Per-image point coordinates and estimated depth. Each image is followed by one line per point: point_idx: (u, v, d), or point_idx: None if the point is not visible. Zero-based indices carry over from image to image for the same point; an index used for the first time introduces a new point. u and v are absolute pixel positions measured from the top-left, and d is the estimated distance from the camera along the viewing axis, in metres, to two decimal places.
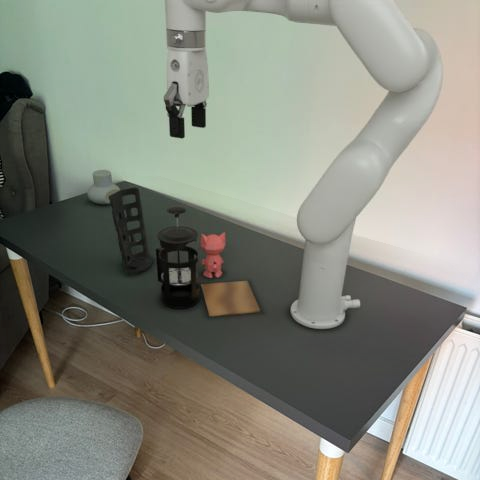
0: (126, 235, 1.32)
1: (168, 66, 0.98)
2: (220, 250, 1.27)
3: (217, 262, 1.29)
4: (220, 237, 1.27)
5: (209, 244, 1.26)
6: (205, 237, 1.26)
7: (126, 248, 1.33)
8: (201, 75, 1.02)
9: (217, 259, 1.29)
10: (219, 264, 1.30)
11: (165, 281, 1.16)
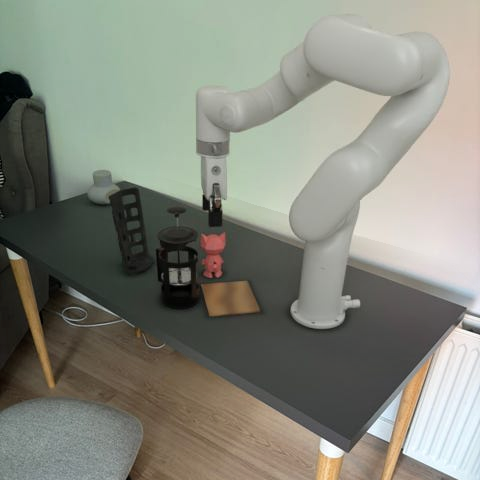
0: (126, 235, 1.32)
1: (209, 171, 1.13)
2: (220, 250, 1.27)
3: (217, 262, 1.29)
4: (220, 237, 1.27)
5: (209, 244, 1.26)
6: (205, 237, 1.26)
7: (126, 248, 1.33)
8: None
9: (217, 259, 1.29)
10: (219, 264, 1.30)
11: (165, 281, 1.16)
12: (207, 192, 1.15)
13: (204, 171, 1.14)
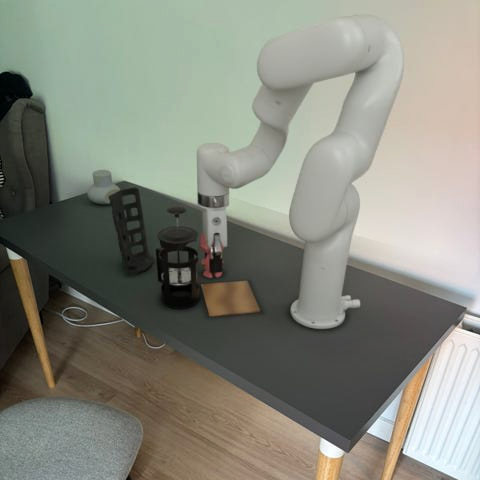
0: (126, 235, 1.32)
1: (210, 222, 1.19)
2: None
3: None
4: None
5: None
6: None
7: (126, 248, 1.33)
8: None
9: None
10: None
11: (165, 281, 1.16)
12: (208, 241, 1.22)
13: (205, 222, 1.21)
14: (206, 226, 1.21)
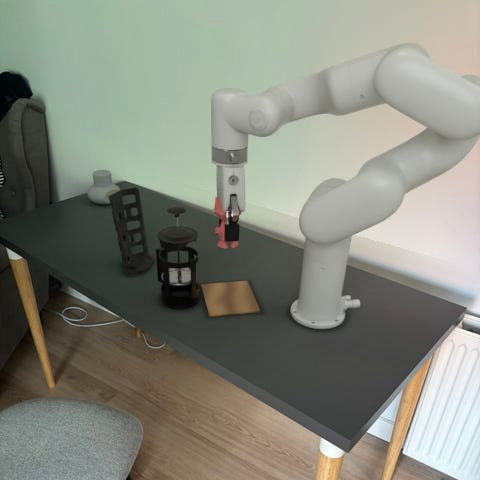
0: (126, 235, 1.32)
1: (226, 181, 1.04)
2: None
3: None
4: None
5: None
6: None
7: (126, 248, 1.33)
8: None
9: None
10: None
11: (165, 281, 1.16)
12: (224, 204, 1.06)
13: (220, 181, 1.05)
14: (221, 186, 1.05)
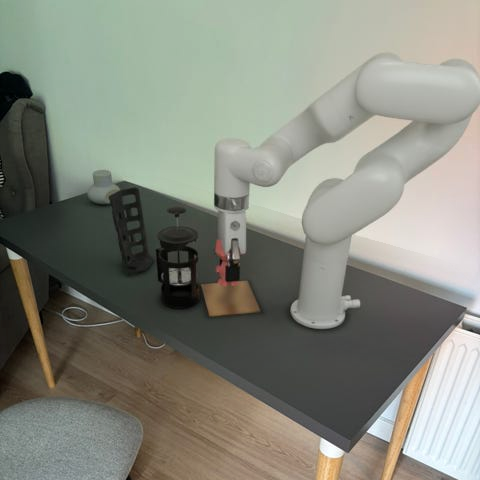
0: (126, 235, 1.32)
1: (227, 227, 1.08)
2: None
3: None
4: None
5: None
6: None
7: (126, 248, 1.33)
8: None
9: None
10: None
11: (165, 281, 1.16)
12: (225, 247, 1.10)
13: (222, 226, 1.09)
14: (223, 231, 1.09)
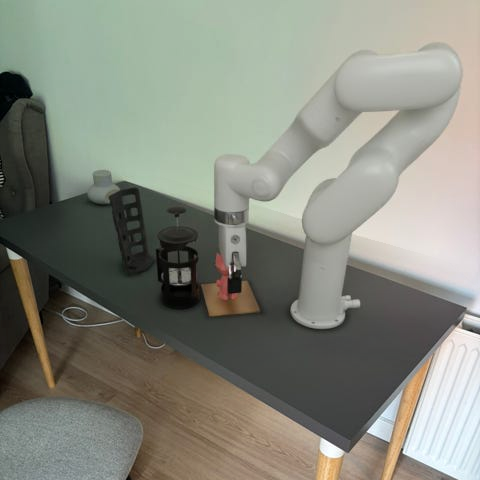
0: (126, 235, 1.32)
1: (228, 241, 1.10)
2: None
3: None
4: None
5: (224, 265, 1.16)
6: (221, 257, 1.17)
7: (126, 248, 1.33)
8: None
9: None
10: None
11: (165, 281, 1.16)
12: (226, 260, 1.12)
13: (223, 239, 1.11)
14: (224, 244, 1.11)
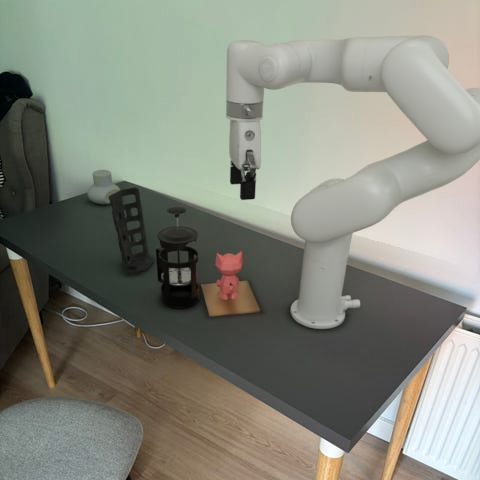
0: (126, 235, 1.32)
1: (242, 137, 1.02)
2: (237, 270, 1.18)
3: (233, 283, 1.20)
4: (237, 256, 1.17)
5: (224, 265, 1.16)
6: (221, 257, 1.17)
7: (126, 248, 1.33)
8: None
9: (233, 280, 1.20)
10: (235, 285, 1.20)
11: (165, 281, 1.16)
12: (239, 160, 1.05)
13: (236, 137, 1.04)
14: (237, 142, 1.04)
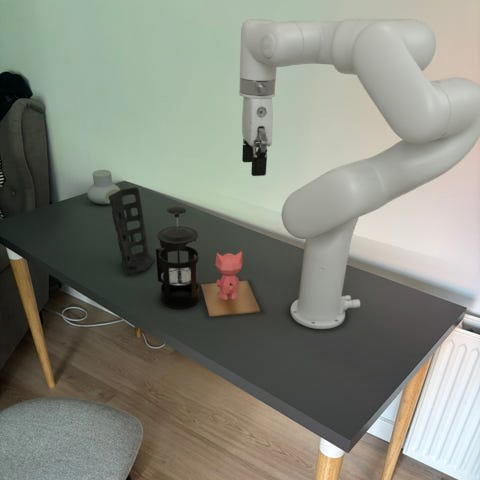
0: (126, 235, 1.32)
1: (254, 113, 1.06)
2: (237, 270, 1.18)
3: (233, 283, 1.20)
4: (237, 256, 1.17)
5: (224, 265, 1.16)
6: (221, 257, 1.17)
7: (126, 248, 1.33)
8: None
9: (233, 280, 1.20)
10: (235, 285, 1.20)
11: (165, 281, 1.16)
12: (251, 137, 1.08)
13: (248, 114, 1.07)
14: (249, 119, 1.07)
